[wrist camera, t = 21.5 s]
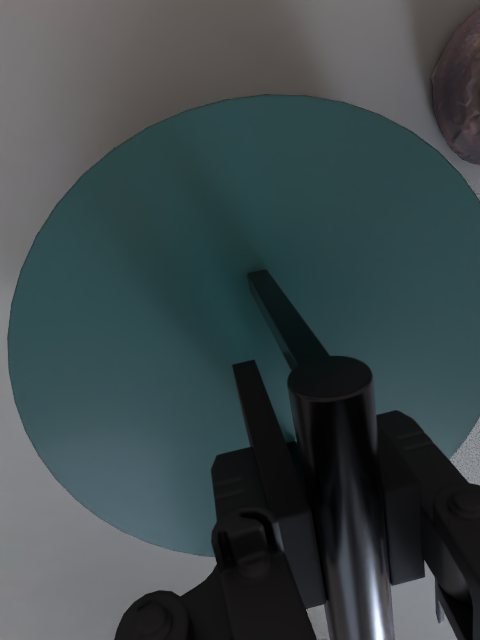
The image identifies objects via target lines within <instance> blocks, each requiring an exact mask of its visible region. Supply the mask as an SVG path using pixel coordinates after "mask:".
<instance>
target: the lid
mask: <svg viewBox="0 0 480 640" xmlns="http://www.w3.org/2000/svg"><path fill="white" fill-rule="evenodd" d="M7 340H8V366H9V375H10V380H11V385H12V390H13V395H14V400H15V404H16V406H17V409H18V412H19V415H20V418H21V420H22V423H23V426H24V429H25V431H26V433H27V435H28V437H29V439H30V440H31V442H32V444H33V446H34V448H35V450H36V452H37V453H38V455H39V457H40V458H41V460H42V461H43V462H44V464H45V465H46V466H47V468H48V469H49V470H50V472H51V473H52V474H53V476H54V477H55V479H56V480H57V481H58V482H59V483H60V484H61V485H62V486H63V487H64V488H65V489H66V490H67V491H68V492H69V493H70V494H71V495H72V496H73V497H74V498H75V499H76V500H77V501H78V502H80V503H81V504H82V505H83V506H85V507H86V508H87V509H88V510H90V511H91V512H92V513H94V514H95V515H96V516H97V517H99V518H101V519H102V520H104V521H106V522H107V523H109V524H111V525H112V526H114V527H116V528H117V529H119V530H121V531H123V532H125V533H127V534H129V535H132V536H134V537H136V538H138V539H141V540H143V541H145V542H148V543H151V544H154V545H157V546H160V547H163V548H167V549H170V550H173V551H178V552H183V553H188V554H194V555H199V556H209V557H215V554H214V551H213V547H212V544H211V536H212V530H213V528H214V526H215V524H216V522H217V518H216V509H215V501H214V500H215V499H214V493H213V485H212V476H211V468H212V466H213V463H214V461H215V458H216V456H217V455H219V454H223V453H227V452H231V451H236V450H240V449H244V448H248V447H250V443H249V439H248V435H247V431H246V427H245V422H244V418H243V413H242V408H241V404H240V399H239V395H238V390H237V386H236V381H235V376H234V372H233V367H232V365H233V364H237V363H241V362H246V361H250V360H254V359H255V362H256V364H257V367H258V370H259V372H260V375H261V378H262V380H263V383H264V386H265V388H266V391H267V394H268V396H269V399H270V401H271V404H272V407H273V409H274V412H275V415H276V417H277V420H278V423H279V425H280V428H281V431H282V433H283V436H284V439H285V441H286V444H287V447H288V449H289V452H290V454H291V457H292V460H293V462H294V465H295V468H296V470H297V473H298V476H299V478H300V481H301V484H302V486H303V489H304V492H305V494H306V499H307V501H308V503H309V505H310V507H311V510H312V517H313V523H314V529H315V535H316V541H317V547H318V553H319V559H320V565H321V571H322V578H323V584H324V590H325V596H326V602H327V603H326V604H324V607H325V613H326V619H327V625H328V631H329V637H330V640H395V634H394V622H393V610H392V598H391V586H390V574H389V562H388V550H387V538H386V526H385V514H384V502H383V490H382V477H381V465H380V453H379V441H378V429H377V417H376V415H378V414H382V413H386V412H390V411H394V410H398V411H400V412H402V413H404V414H406V415H407V416H409V417H411V418H413V419H414V420H415V421H416V422H417V424H418V425H419V426H420V427H421V428H422V429H423V430H424V433H425V434H427V435H428V436H429V437H430V439H431V440H432V441H433V444H436V446H437V447H438V448H439V449H440V450H441V451H442V453H443V454H444V455H445V456H446V457H447V458H448V460H450V459H451V457H452V456H453V455H454V454H455V453H456V451H457V450H458V449H459V448H460V447H461V445H462V444H463V442H464V441H465V439H466V438H467V436H468V435H469V433H470V432H471V430H472V429H473V427H474V426H475V424H476V422H477V420H478V419H479V417H480V200H479V199H478V198H477V196H476V195H475V193H474V192H473V191H472V189H471V188H470V186H469V185H468V183H467V182H466V181H465V179H464V178H463V176H462V175H461V174H460V173H459V172H458V171H457V170H456V169H455V168H454V167H453V166H452V165H451V164H450V163H449V162H448V161H447V160H446V159H445V158H444V157H443V155H442V154H441V153H440V152H439V151H437V150H436V149H435V148H433V147H432V146H431V145H429V144H428V143H427V142H425V141H424V140H423V139H421V138H420V137H419V136H417V135H416V134H415V133H413V132H412V131H410V130H408V129H407V128H405V127H403V126H401V125H399V124H397V123H395V122H393V121H391V120H389V119H387V118H386V117H384V116H382V115H380V114H377V113H374V112H371V111H368V110H366V109H363V108H360V107H357V106H354V105H351V104H348V103H345V102H340V101H335V100H329V99H323V98H318V97H312V96H306V95H269V94H266V95H258V96H250V97H241V98H233V99H226V100H222V101H218V102H215V103H211V104H207V105H204V106H200V107H197V108H193V109H189V110H186V111H184V112H181V113H179V114H177V115H174V116H172V117H170V118H168V119H165V120H163V121H161V122H158V123H156V124H154V125H152V126H149V127H147V128H146V129H144V130H143V131H141V132H139V133H138V134H136V135H135V136H133V137H131V138H130V139H128V140H127V141H125V142H123V143H122V144H120V145H119V146H117V147H115V148H114V149H113V150H111V151H110V152H109V153H108V154H107V155H105V156H104V157H103V158H102V159H101V160H100V161H98V162H97V163H96V164H95V165H94V166H92V167H91V168H90V169H89V170H88V171H86V172H85V173H84V174H83V175H82V176H81V177H80V178H79V179H78V181H77V182H76V183H75V184H74V185H73V186H72V187H71V189H70V190H69V191H68V192H67V193H66V194H65V195H64V197H63V198H62V199H61V200H60V201H59V202H58V203H57V205H56V206H55V208H54V209H53V211H52V212H51V214H50V215H49V217H48V218H47V220H46V222H45V223H44V225H43V226H42V228H41V229H40V231H39V232H38V234H37V235H36V237H35V240H34V242H33V244H32V246H31V248H30V251H29V253H28V255H27V257H26V259H25V262H24V264H23V266H22V268H21V271H20V275H19V278H18V282H17V285H16V289H15V293H14V296H13V300H12V303H11V311H10V320H9V328H8V337H7Z"/></svg>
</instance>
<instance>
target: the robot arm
mask: <svg viewBox="0 0 480 640" xmlns="http://www.w3.org/2000/svg"><path fill="white" fill-rule="evenodd" d="M232 367H233V372H234V376H235V381H236V386H237V390H238V395H239V399H240V404H241V408H242V413H243V418H244V422H245V427H246V431H247V435H248V439H249V443H250V447H248V448H244V449H240V450H236V451H231V452H227V453H223V454H219V455H217V456H216V458H215V461H214V463H213V466H212V468H211V476H212V485H213V493H214V499H215V500H214V501H215V509H216V518H217V522H216V524H215V526H214V528H213V530H212V536H211V544H212V547H213V551H214V554H215V558H216V561H217V565H216V566H215V568H214V570H213V572H212V573H211V574H210V575H209V576H208V577H207V579H206V580H205V581H203V582H202V583H201V584H199V585H198V586H197V587H195V588H193V589H192V590H190V591H188V592H187V593H185V594H183V595H182V596H178V595H177V594H175V593H173V592H172V591H161V590H159V591H155V592H152V593H148V594H146V595H144V596H143V597H141V598H140V599H138V600H137V601H135V602H134V603H133V604H132V605H131V606H130V607H129V608H128V610H127V611H126V612H125V613H124V614H123V617H122V619H121V621H120V623H119V626H118V628H117V631H116V635H115V639H114V640H317V638H316V636H315V633H314V630H313V628H312V625H311V622H310V620H309V617H308V614H307V612H306V609H307V608H311V607H315V606H319V605H322V604H326V603H327V602H326V596H325V590H324V584H323V578H322V571H321V565H320V559H319V553H318V547H317V541H316V535H315V529H314V523H313V517H312V510H311V507H310V505H309V503H308V501H307V499H306V494H305V492H304V489H303V486H302V484H301V481H300V478H299V476H298V473H297V470H296V468H295V465H294V462H293V460H292V457H291V454H290V452H289V449H288V447H287V444H286V441H285V439H284V436H283V433H282V431H281V428H280V425H279V423H278V420H277V417H276V415H275V412H274V409H273V407H272V404H271V401H270V399H269V396H268V394H267V391H266V388H265V386H264V383H263V380H262V378H261V375H260V372H259V370H258V367H257V364H256V362H255V359H254V360H250V361H246V362H241V363H237V364H233V365H232ZM376 417H377V429H378V441H379V453H380V465H381V477H382V490H383V502H384V514H385V526H386V538H387V550H388V562H389V574H390V583H391V585H392V586H393V585H397V584H401V583H405V582H408V581H412V580H416V579H419V578H423V577H425V570H424V560H425V562H426V563H427V565H428V567H429V568H430V570H431V572H432V573H433V575H434V577H435V598H436V615H437V619H438V623H444V612H445V615H446V617H447V619H448V621H449V623H450V625H451V627H452V629H453V631H454V633H455V635H456V637H457V639H458V640H480V486H479V485H475V484H471V483H468V482H467V480H466V479H465V478H464V477H463V476H462V475H461V473H460V472H459V471H458V470H457V469H456V468H455V466H454V465H453V464H452V463H451V462H450V461H449V460H448V458H447V457H446V456H445V455H444V454H443V453H442V451H441V450H440V449H439V448H438V447H437V446H436V444H433V441H432V440H431V439H430V437H429V436H428V435H427V434H425V433H424V430H423V429H422V428H421V427H420V426H419V425H418V424H417V422H416V421H415V420H414V419H413V418H411V417H409V416H407V415H406V414H404V413H402V412H400V411H398V410H394V411H390V412H386V413H382V414H378V415H376Z"/></svg>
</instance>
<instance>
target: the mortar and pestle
mask: <svg viewBox="0 0 480 640" xmlns="http://www.w3.org/2000/svg"><path fill="white" fill-rule="evenodd" d="M430 78H431V80H432V83H433V103H434V109H435V113H436V118H437V121H438V123H439V126H440V128H441V131H442V133H443V135H444V137H445V139H446V142H447V144H448V145H449V146H450V147H451V148H452V150H453V151H454V152H455V153H456V154H458V155H459V156H460V157H461V158H462V159H463V160H467V161H468V162H470V163H473V164H480V9H479V10H477V11H476V12H475V13H473V14H472V15H471V16H469V17H468V18H467V19H466V20H465V21H464V22H463V23H462V24H461V25H460V27H459V28H458V29H457V31H456V32H455V34H454V35H453V36H452V38H451V39H450V41H449V42H448V44H447V46H446V48H445V50H444V52H443V54H442V56H441V58H440V60H439V62H438V63H437V65H436V67H435V69H434V71H433V73H432V75H431V77H430Z"/></svg>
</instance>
